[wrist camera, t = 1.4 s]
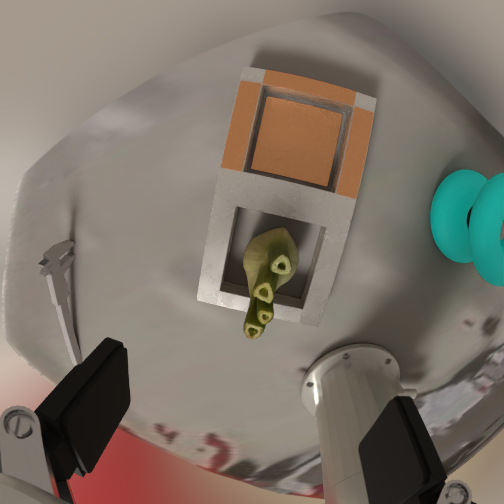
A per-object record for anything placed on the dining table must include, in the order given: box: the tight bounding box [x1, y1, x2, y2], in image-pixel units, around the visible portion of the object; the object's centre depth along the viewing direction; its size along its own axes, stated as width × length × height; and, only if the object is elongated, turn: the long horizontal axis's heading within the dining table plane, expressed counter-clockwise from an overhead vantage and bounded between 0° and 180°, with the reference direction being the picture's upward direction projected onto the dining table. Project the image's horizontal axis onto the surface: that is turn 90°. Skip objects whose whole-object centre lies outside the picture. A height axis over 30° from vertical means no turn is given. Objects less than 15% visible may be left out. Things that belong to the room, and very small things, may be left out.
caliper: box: [38, 240, 82, 366], centre depth 29 cm, size 20×1×6 cm, turn 168°
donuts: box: [430, 169, 504, 286], centre depth 20 cm, size 10×10×10 cm
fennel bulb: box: [243, 227, 299, 339], centre depth 22 cm, size 6×5×12 cm
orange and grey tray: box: [197, 66, 377, 327], centre depth 25 cm, size 12×22×3 cm, turn 168°
